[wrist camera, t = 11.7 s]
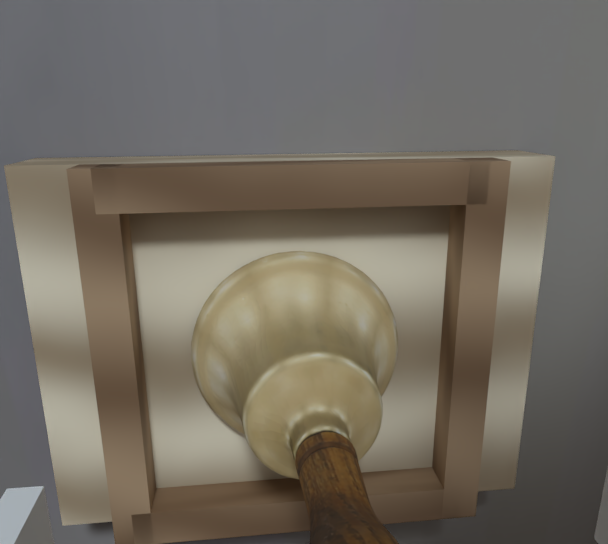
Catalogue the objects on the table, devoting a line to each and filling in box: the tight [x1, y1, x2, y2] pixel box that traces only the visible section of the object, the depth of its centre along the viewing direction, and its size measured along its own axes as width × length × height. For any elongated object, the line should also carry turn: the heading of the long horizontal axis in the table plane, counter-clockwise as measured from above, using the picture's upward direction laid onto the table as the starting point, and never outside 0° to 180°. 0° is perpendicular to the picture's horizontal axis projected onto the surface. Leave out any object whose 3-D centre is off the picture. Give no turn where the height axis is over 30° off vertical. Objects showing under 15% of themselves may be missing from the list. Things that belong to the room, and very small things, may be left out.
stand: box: [4, 150, 555, 544], centre depth 23 cm, size 15×20×4 cm
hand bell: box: [191, 251, 399, 544], centre depth 14 cm, size 8×8×16 cm
